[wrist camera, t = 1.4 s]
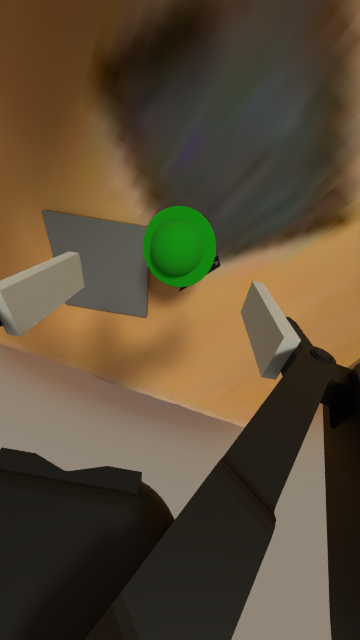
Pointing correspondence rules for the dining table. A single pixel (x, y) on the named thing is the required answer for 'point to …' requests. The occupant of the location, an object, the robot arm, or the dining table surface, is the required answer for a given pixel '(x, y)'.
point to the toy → (180, 247)
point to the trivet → (103, 261)
